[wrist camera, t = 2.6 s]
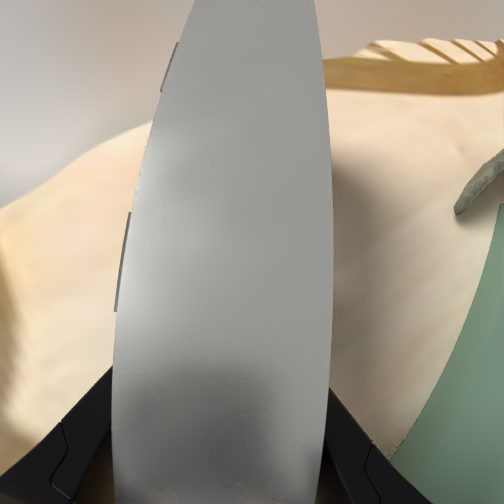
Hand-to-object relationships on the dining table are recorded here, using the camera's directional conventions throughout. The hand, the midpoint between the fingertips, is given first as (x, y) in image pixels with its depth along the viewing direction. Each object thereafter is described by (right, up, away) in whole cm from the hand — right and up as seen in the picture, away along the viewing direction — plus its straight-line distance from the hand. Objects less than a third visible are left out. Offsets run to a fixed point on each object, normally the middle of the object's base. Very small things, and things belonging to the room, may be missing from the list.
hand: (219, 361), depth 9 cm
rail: (0, +4, +2) cm, 4 cm away
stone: (+19, +9, +12) cm, 24 cm away
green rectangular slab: (+19, -5, +8) cm, 21 cm away
